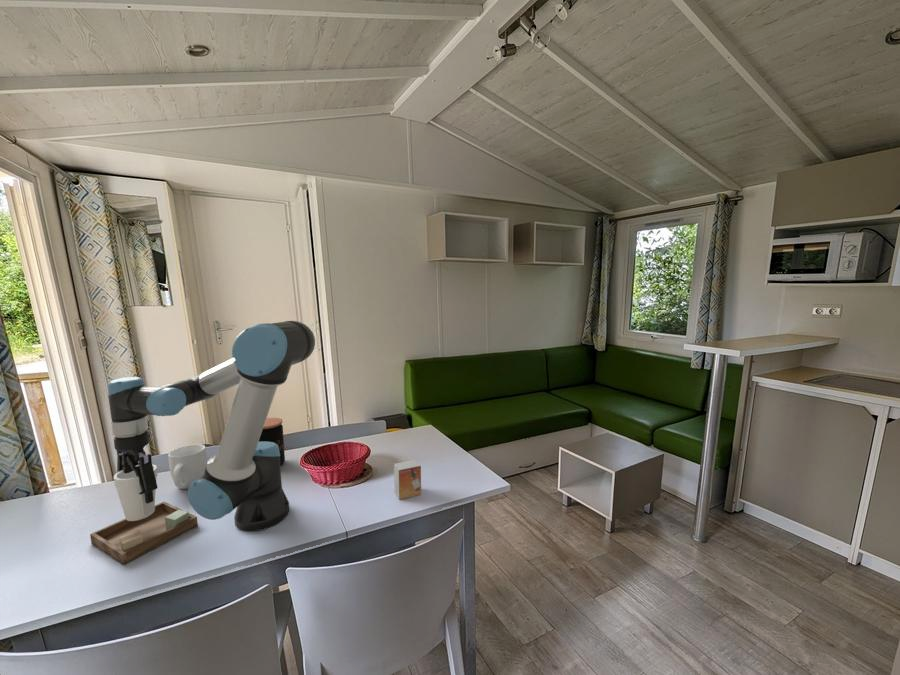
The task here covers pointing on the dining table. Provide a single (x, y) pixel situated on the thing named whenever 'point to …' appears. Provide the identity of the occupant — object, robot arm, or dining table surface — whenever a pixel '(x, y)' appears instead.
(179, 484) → the mug
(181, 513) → the block
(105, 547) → the tray
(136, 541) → the block
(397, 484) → the small box
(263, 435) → the coffee jar
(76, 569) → the dining table surface
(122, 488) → the foam cup
